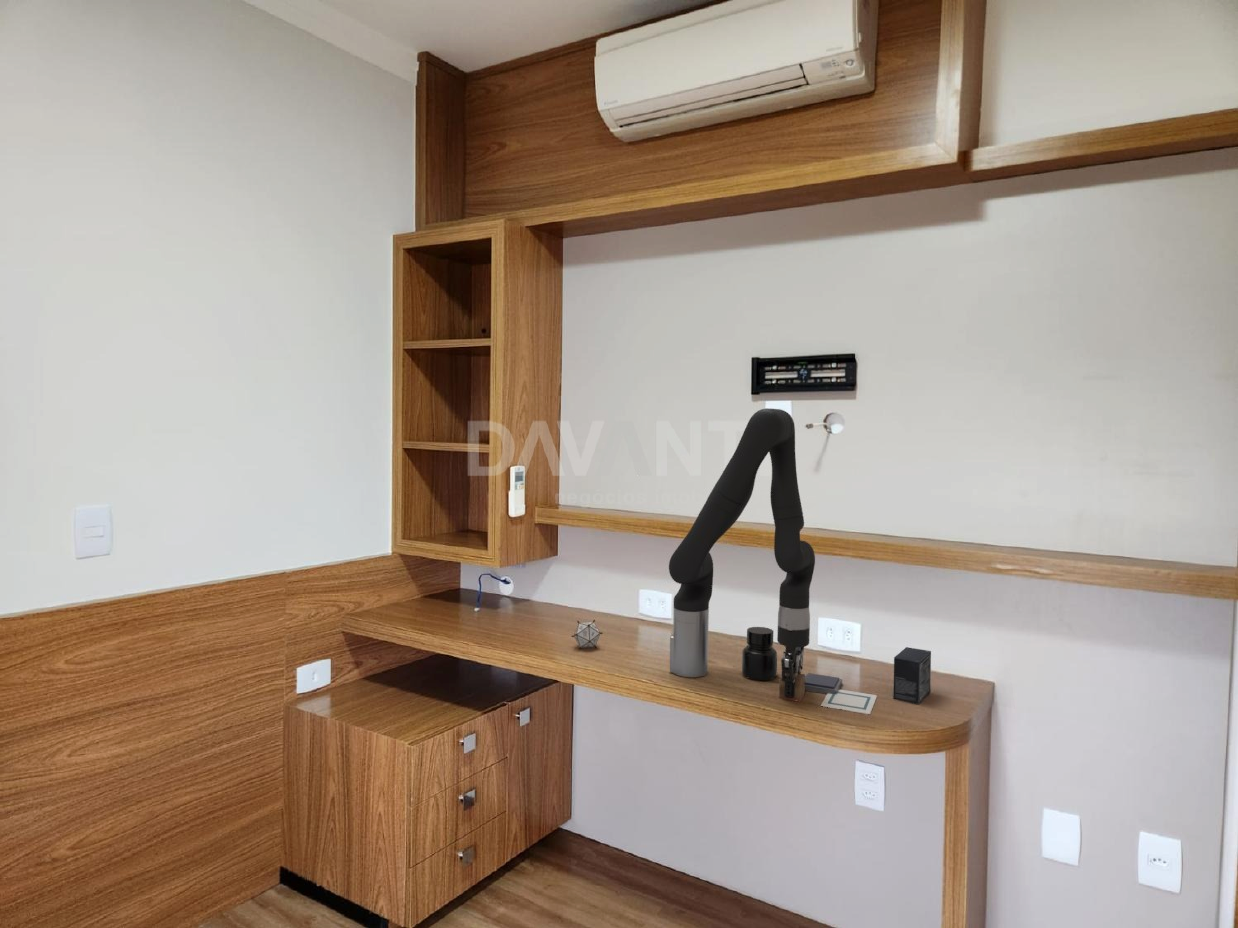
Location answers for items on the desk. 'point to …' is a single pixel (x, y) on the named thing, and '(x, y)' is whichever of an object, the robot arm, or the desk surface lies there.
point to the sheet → (850, 701)
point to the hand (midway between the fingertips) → (792, 693)
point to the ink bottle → (759, 655)
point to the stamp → (799, 687)
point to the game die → (587, 634)
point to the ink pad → (822, 683)
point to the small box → (912, 675)
